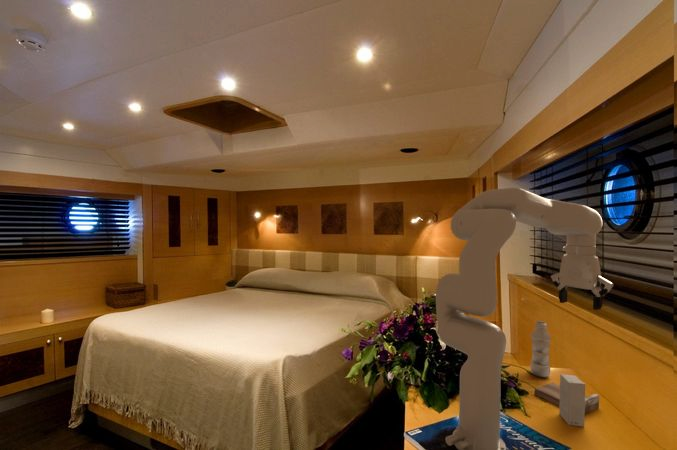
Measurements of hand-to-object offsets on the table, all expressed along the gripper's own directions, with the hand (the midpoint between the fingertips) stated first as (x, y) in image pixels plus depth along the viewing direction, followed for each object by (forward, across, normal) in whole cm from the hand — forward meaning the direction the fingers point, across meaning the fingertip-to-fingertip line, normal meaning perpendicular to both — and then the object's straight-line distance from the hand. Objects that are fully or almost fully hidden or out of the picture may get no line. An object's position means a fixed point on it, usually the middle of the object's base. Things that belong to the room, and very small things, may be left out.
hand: (579, 305), depth 106 cm
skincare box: (+31, +4, -11) cm, 34 cm away
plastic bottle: (+31, -18, +10) cm, 38 cm away
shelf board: (+31, -3, -1) cm, 31 cm away
